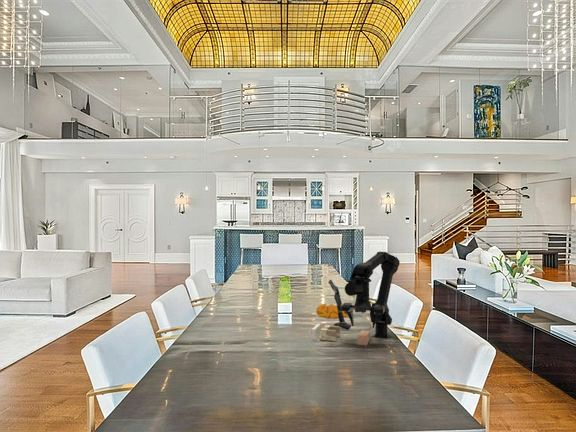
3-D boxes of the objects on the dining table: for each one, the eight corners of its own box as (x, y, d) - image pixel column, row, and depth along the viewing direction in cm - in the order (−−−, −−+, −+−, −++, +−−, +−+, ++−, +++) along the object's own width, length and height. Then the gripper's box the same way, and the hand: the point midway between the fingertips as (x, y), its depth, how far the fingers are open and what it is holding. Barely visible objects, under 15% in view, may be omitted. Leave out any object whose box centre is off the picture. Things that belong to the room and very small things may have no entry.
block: (325, 334, 201) (325, 325, 201) (339, 335, 199) (339, 326, 199) (320, 339, 193) (320, 329, 193) (335, 341, 190) (335, 331, 190)
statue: (350, 331, 208) (352, 282, 208) (326, 329, 211) (328, 280, 210) (351, 326, 218) (353, 279, 218) (328, 324, 221) (330, 277, 220)
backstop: (317, 334, 203) (317, 323, 203) (320, 334, 202) (320, 324, 202) (311, 339, 194) (311, 329, 194) (315, 340, 193) (315, 329, 193)
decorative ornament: (317, 311, 232) (316, 300, 262) (317, 320, 232) (316, 308, 262) (351, 312, 231) (346, 301, 261) (351, 320, 231) (346, 308, 261)
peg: (357, 345, 186) (357, 336, 186) (361, 338, 196) (361, 330, 196) (366, 345, 185) (366, 336, 185) (369, 339, 195) (369, 331, 195)
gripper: (338, 294, 183) (338, 330, 183) (381, 297, 177) (381, 333, 177) (343, 290, 194) (344, 323, 194) (384, 292, 187) (384, 327, 188)
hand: (363, 327), depth 188 cm, fingers open, 9 cm apart
